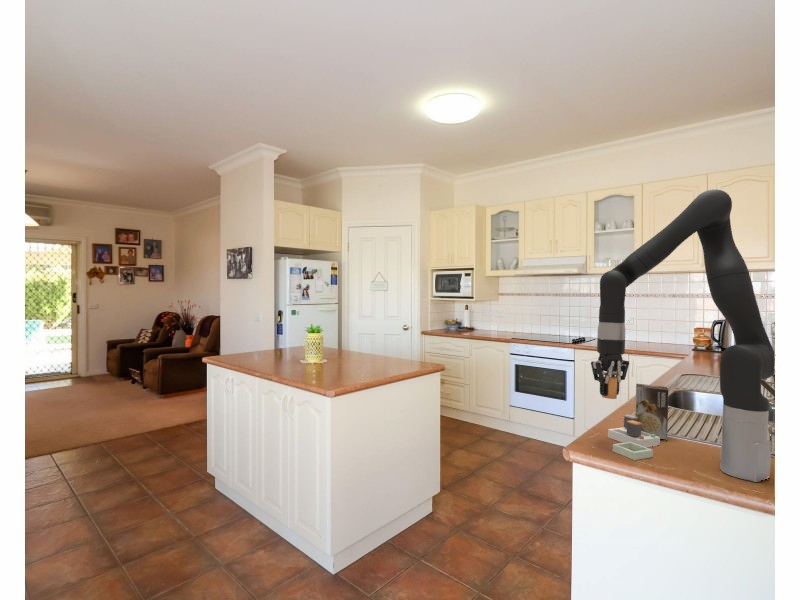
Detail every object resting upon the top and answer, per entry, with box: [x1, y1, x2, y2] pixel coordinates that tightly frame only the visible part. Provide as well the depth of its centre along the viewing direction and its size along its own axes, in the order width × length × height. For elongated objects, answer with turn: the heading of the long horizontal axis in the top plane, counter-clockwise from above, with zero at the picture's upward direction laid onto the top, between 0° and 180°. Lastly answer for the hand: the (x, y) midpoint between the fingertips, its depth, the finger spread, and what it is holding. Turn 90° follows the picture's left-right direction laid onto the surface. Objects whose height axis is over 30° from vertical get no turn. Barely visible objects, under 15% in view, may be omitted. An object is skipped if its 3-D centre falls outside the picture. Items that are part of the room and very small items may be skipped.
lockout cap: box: [601, 375, 618, 400], centre depth 133 cm, size 4×4×6 cm
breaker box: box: [607, 426, 661, 448], centre depth 138 cm, size 11×9×3 cm
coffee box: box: [634, 383, 669, 441], centre depth 144 cm, size 9×6×16 cm
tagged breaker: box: [627, 420, 642, 437], centre depth 135 cm, size 3×2×4 cm
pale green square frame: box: [612, 442, 654, 461], centre depth 126 cm, size 7×7×2 cm
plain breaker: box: [623, 414, 638, 428], centre depth 141 cm, size 3×2×4 cm
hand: (609, 394), depth 133 cm, fingers closed on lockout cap, 4 cm apart
